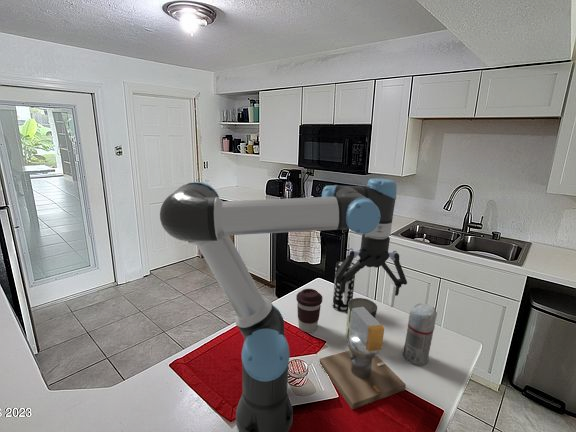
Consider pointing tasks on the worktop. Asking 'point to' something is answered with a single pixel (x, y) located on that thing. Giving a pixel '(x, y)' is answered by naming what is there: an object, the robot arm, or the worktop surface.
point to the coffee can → (359, 302)
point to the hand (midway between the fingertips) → (367, 303)
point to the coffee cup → (308, 309)
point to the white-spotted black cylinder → (338, 296)
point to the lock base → (361, 378)
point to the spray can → (419, 334)
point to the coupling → (365, 334)
